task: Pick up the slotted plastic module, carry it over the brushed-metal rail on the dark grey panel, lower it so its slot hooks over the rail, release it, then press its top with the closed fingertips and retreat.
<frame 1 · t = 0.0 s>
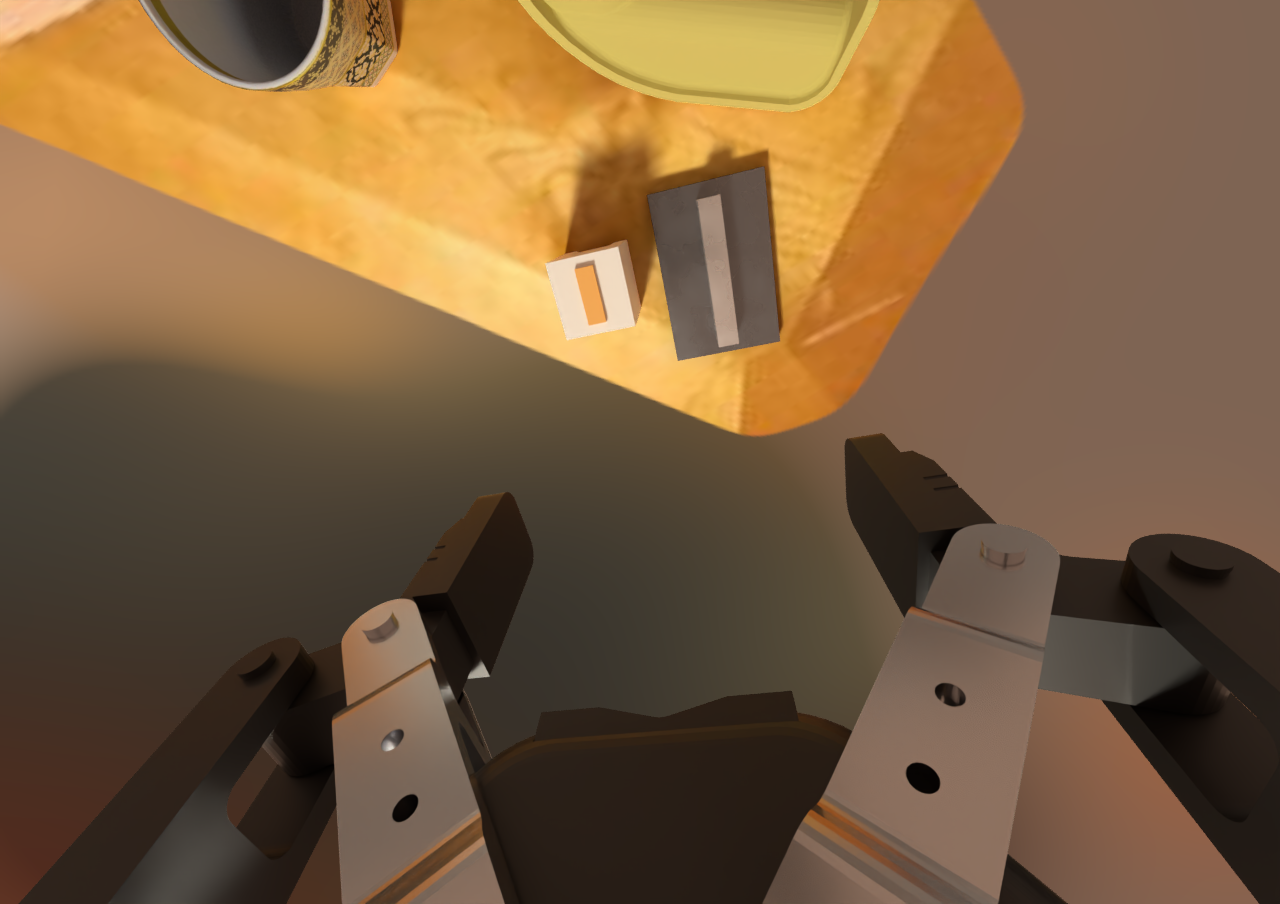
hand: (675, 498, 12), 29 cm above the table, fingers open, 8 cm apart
module: (603, 280, 38), on the table
panel: (716, 270, 37), on the table
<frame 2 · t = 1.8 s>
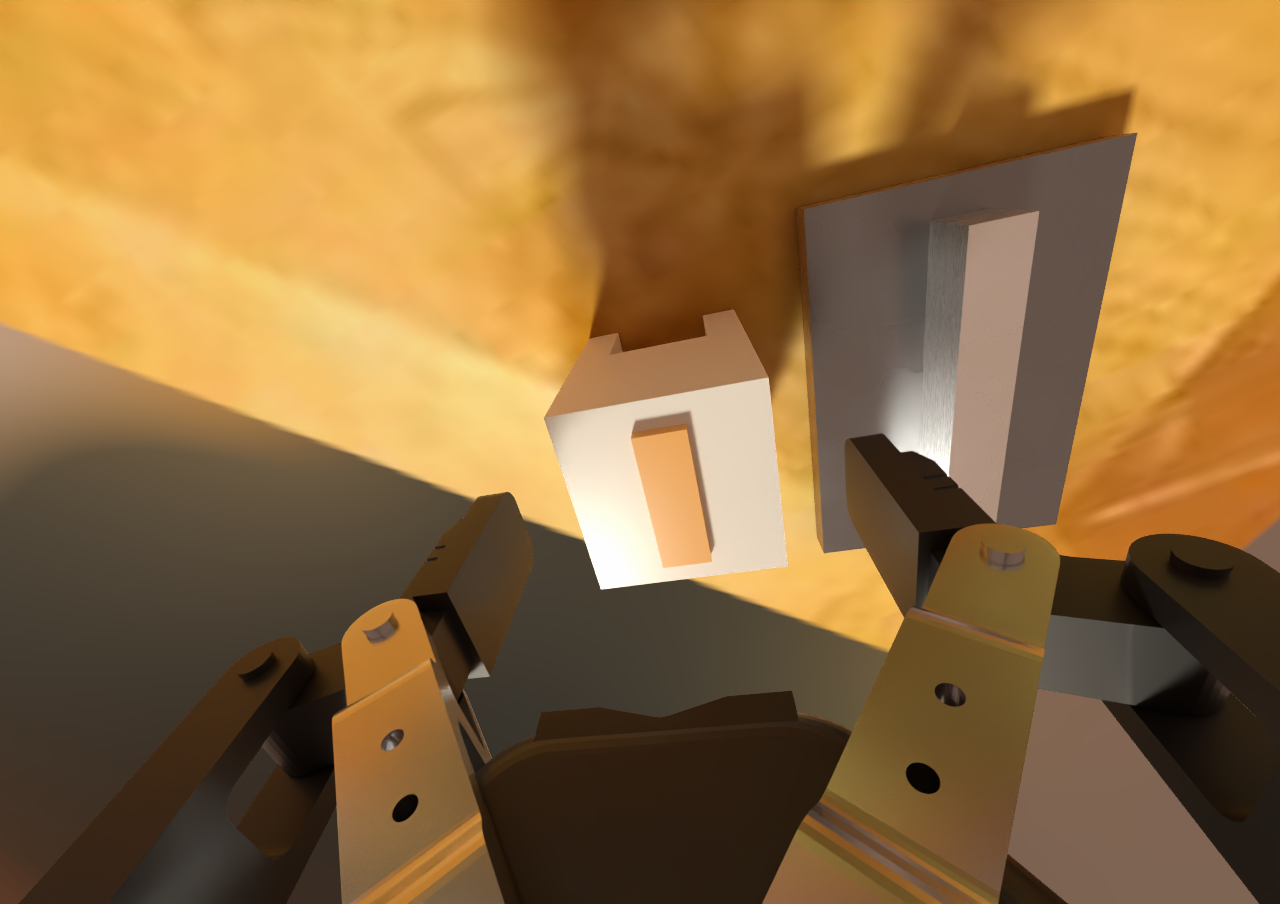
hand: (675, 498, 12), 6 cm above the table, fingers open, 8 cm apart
module: (673, 394, 17), on the table
panel: (932, 377, 16), on the table
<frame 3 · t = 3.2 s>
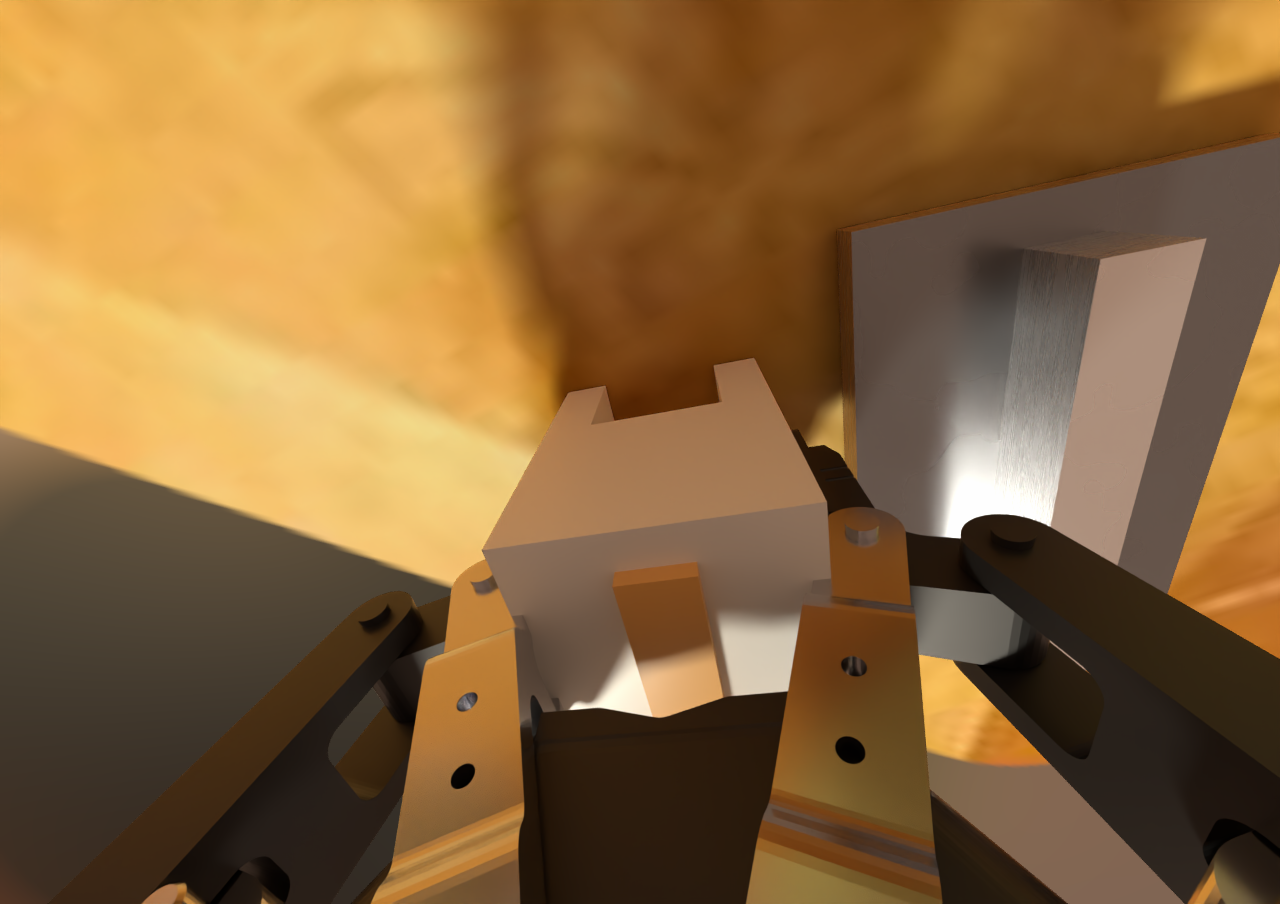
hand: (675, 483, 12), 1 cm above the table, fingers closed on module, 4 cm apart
module: (676, 461, 14), on the table, touching gripper
panel: (1005, 442, 13), on the table
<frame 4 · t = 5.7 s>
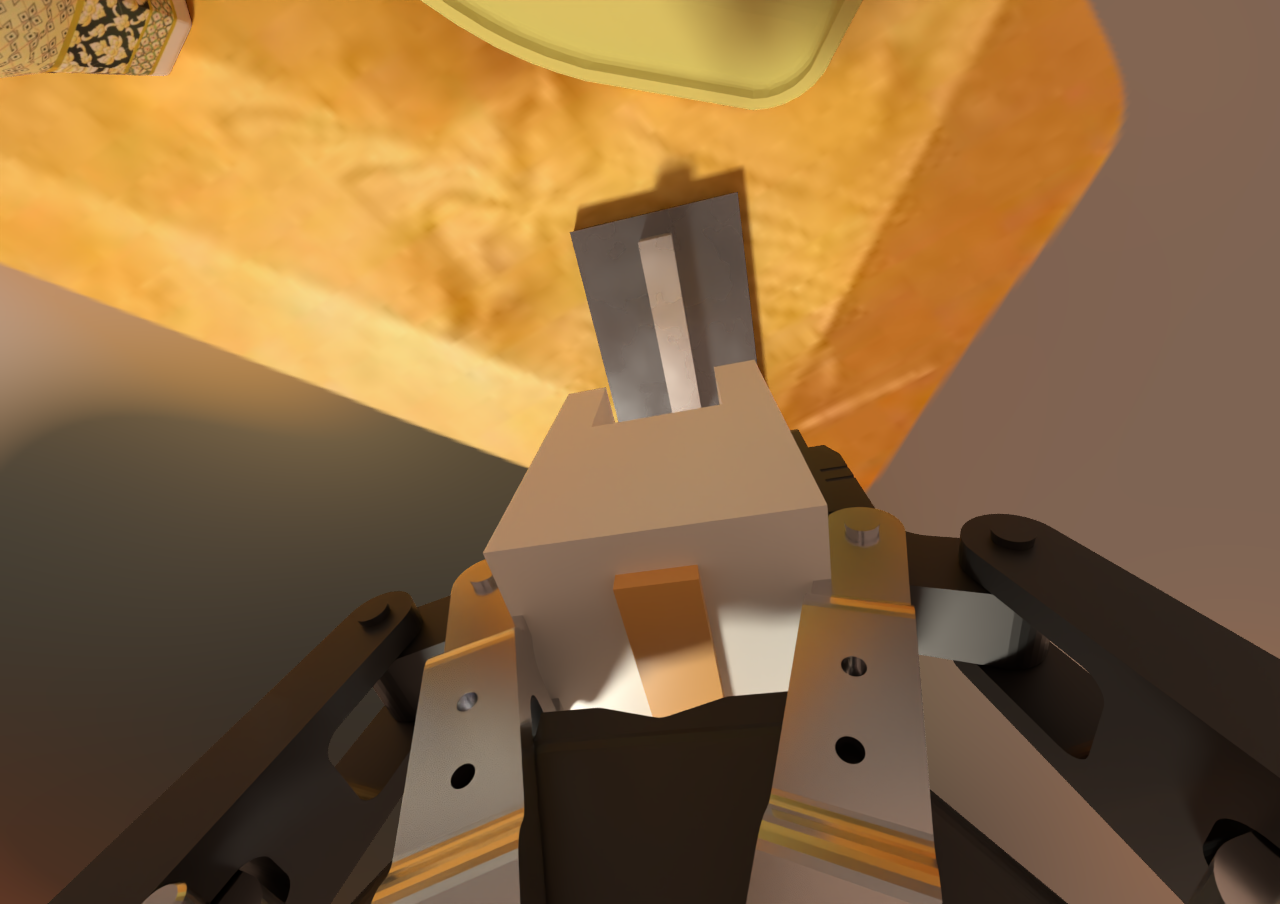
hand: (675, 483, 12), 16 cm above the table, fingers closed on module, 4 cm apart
module: (676, 462, 14), point 15 cm above the table, touching gripper
panel: (674, 333, 26), on the table
when the fingers open (4 cm above the table, at t = 8.2 s): module drops 1 cm, resting on panel.
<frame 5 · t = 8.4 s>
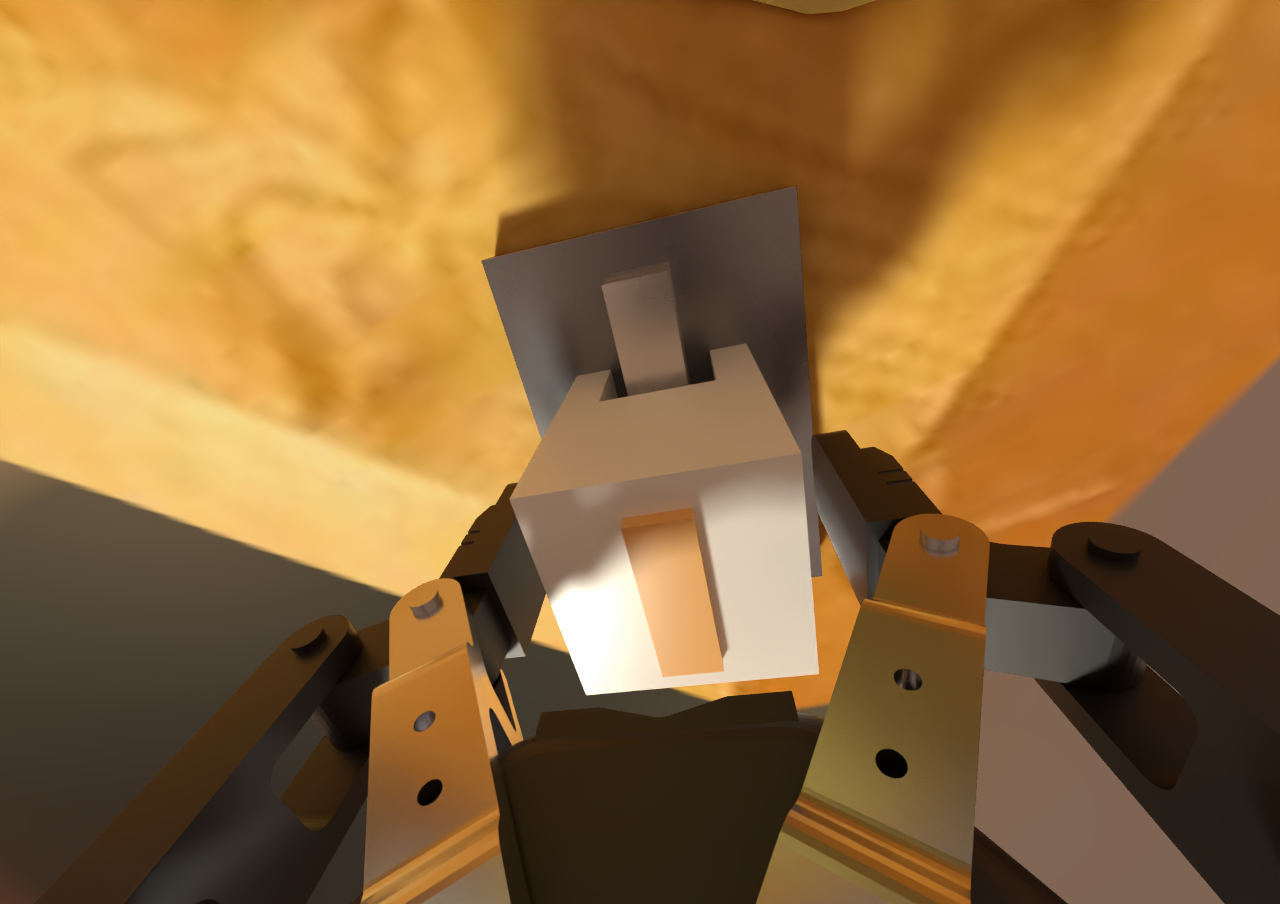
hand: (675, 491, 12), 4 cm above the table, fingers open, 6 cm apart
module: (675, 439, 15), point 1 cm above the table, touching panel
panel: (674, 426, 16), on the table
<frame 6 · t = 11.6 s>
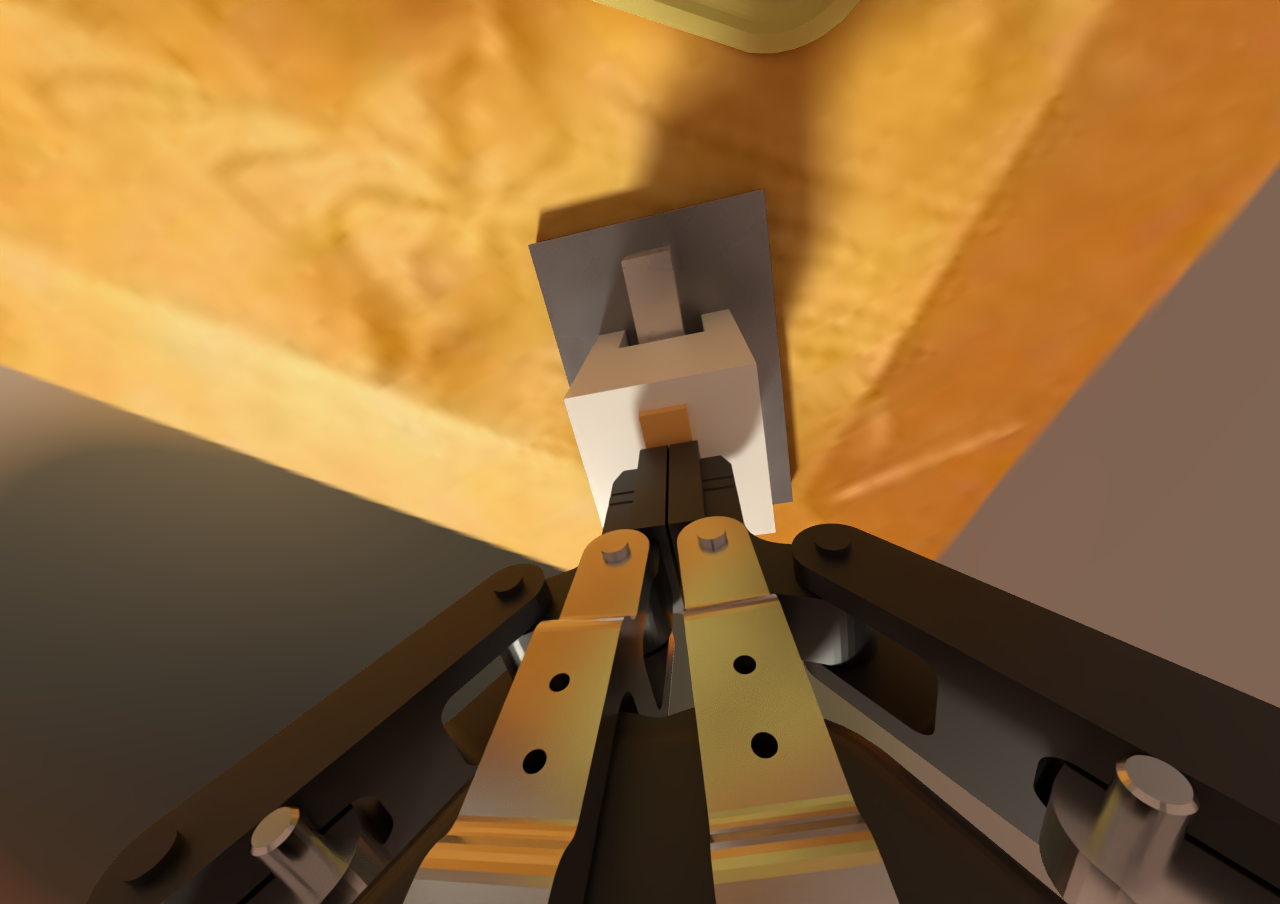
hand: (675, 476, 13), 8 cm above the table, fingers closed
module: (674, 386, 19), point 1 cm above the table, touching gripper, panel
panel: (674, 378, 20), on the table
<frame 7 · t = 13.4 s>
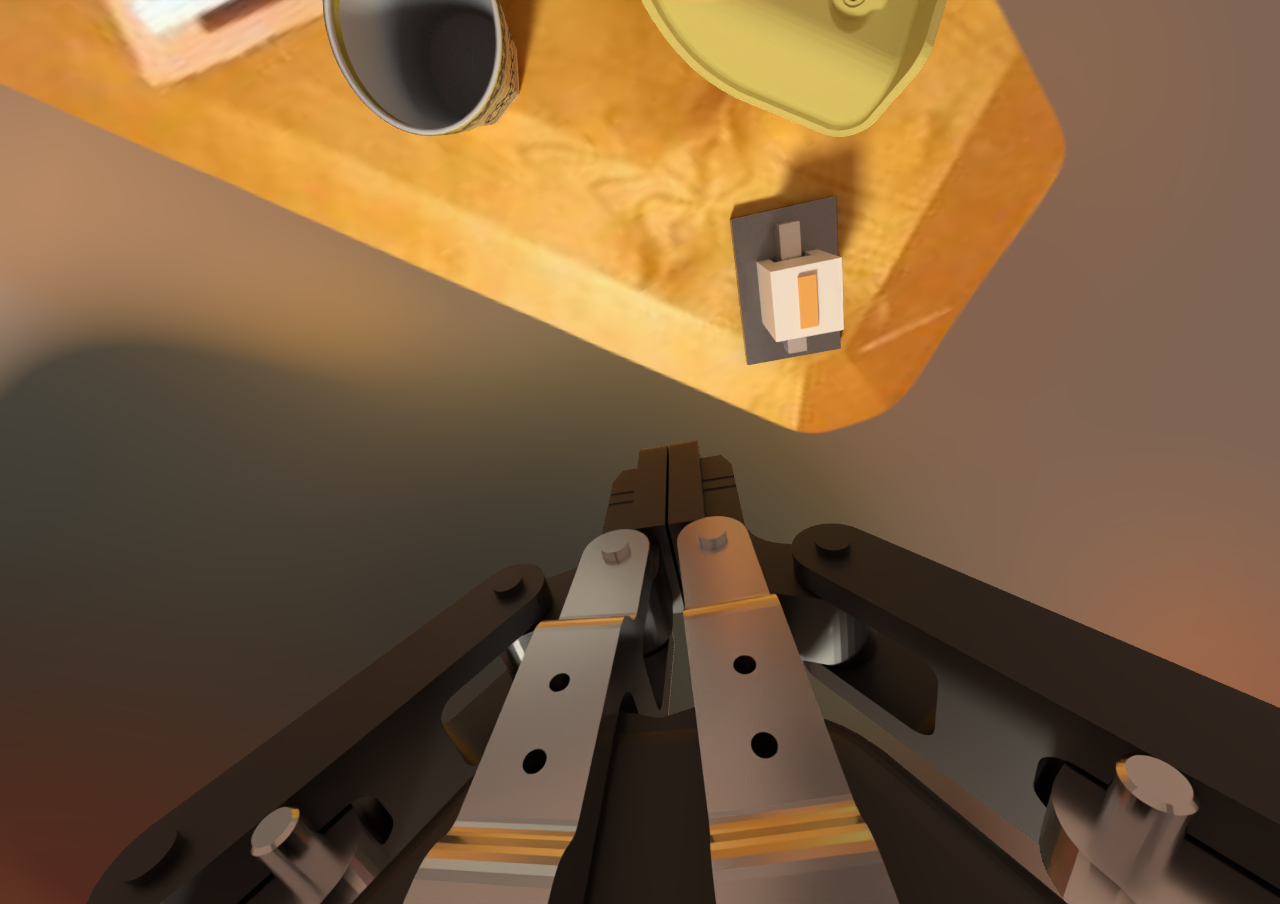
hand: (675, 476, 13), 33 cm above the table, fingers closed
ceramic cup: (475, 46, 36), on the table
module: (788, 287, 41), point 1 cm above the table, touching panel
panel: (786, 285, 41), on the table
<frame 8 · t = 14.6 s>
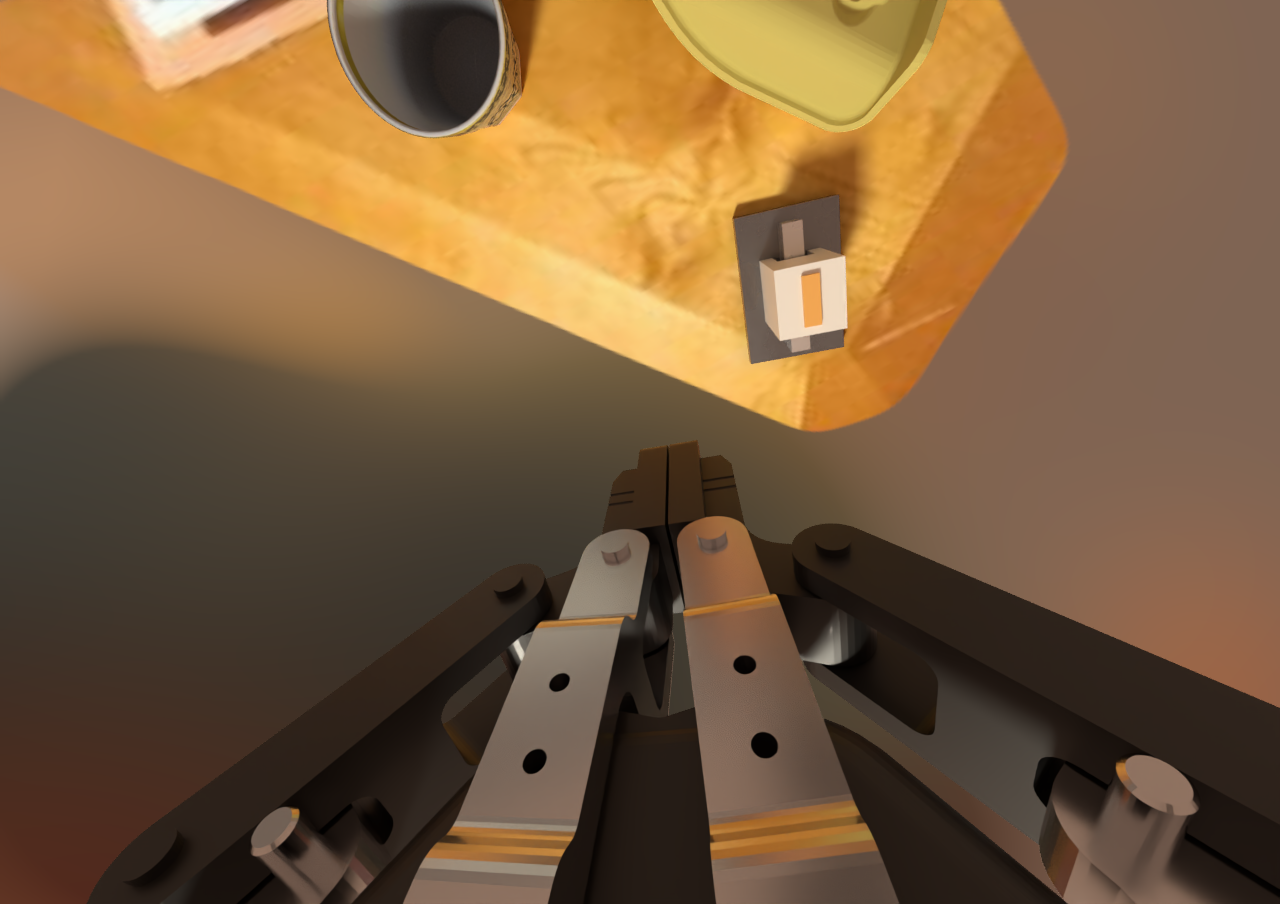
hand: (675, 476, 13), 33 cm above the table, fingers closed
ceramic cup: (477, 48, 36), on the table
module: (791, 285, 41), point 1 cm above the table, touching panel
panel: (789, 284, 42), on the table
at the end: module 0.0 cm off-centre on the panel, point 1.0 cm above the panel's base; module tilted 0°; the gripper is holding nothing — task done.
